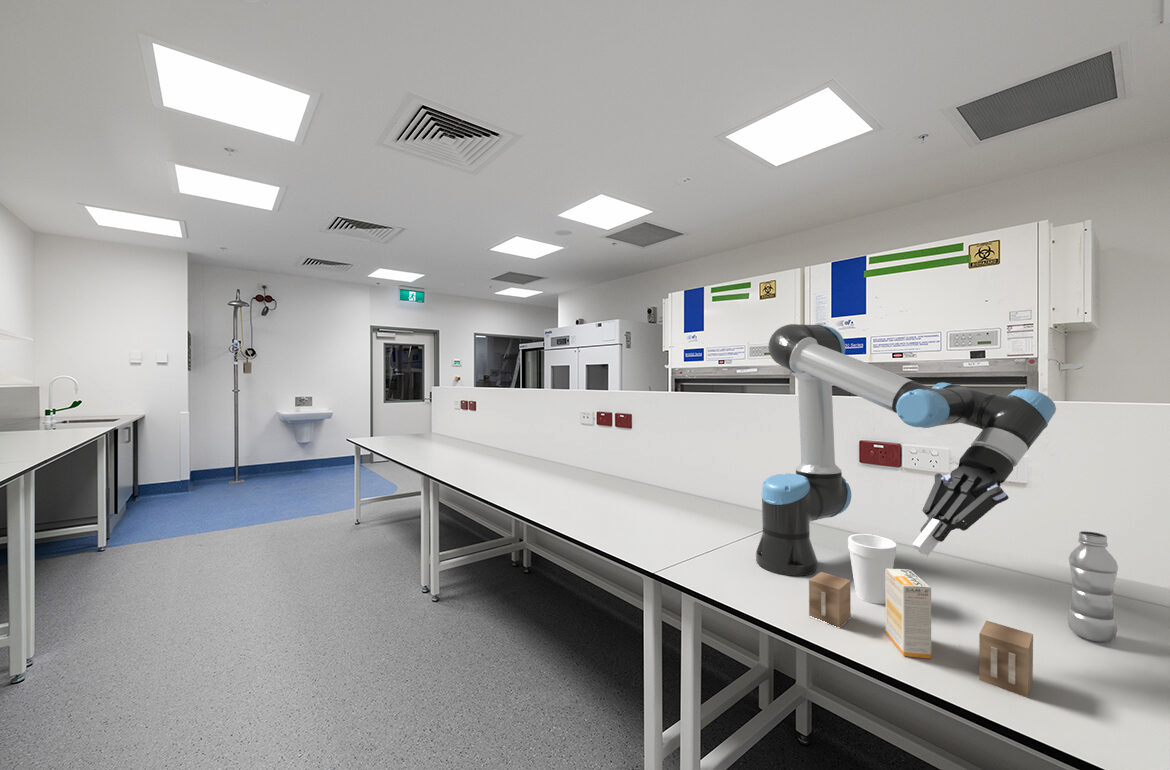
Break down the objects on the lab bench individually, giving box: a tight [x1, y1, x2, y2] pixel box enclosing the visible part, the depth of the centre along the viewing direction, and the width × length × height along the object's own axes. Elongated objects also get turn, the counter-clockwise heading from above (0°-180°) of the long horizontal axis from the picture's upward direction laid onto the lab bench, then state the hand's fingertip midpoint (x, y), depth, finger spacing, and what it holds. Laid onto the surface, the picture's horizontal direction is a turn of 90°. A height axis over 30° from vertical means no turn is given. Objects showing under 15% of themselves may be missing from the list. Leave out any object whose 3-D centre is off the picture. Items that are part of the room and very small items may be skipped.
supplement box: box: [885, 568, 932, 659], centre depth 89 cm, size 8×5×13 cm, turn 168°
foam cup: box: [847, 533, 897, 605], centre depth 108 cm, size 10×9×13 cm
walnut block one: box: [808, 571, 852, 628], centre depth 100 cm, size 6×6×8 cm
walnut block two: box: [978, 620, 1034, 699], centre depth 79 cm, size 6×6×8 cm
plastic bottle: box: [1066, 530, 1119, 643], centre depth 91 cm, size 6×7×20 cm
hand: (920, 550), depth 89 cm, fingers closed
